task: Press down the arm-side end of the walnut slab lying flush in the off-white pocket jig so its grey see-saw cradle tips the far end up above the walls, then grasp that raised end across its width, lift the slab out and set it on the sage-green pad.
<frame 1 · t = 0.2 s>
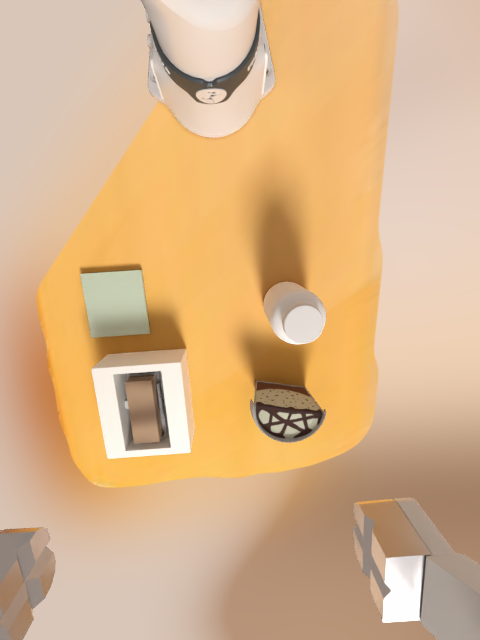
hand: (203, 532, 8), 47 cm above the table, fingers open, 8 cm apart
pill bottle: (285, 303, 56), on the table
walnut slab: (146, 404, 54), point 4 cm above the table, touching cradle
sage pad: (117, 303, 55), on the table
pocket jig: (152, 392, 58), on the table
cradle: (146, 404, 54), point 4 cm above the table, hinge at 0.0°, touching walnut slab
food container: (277, 398, 60), on the table
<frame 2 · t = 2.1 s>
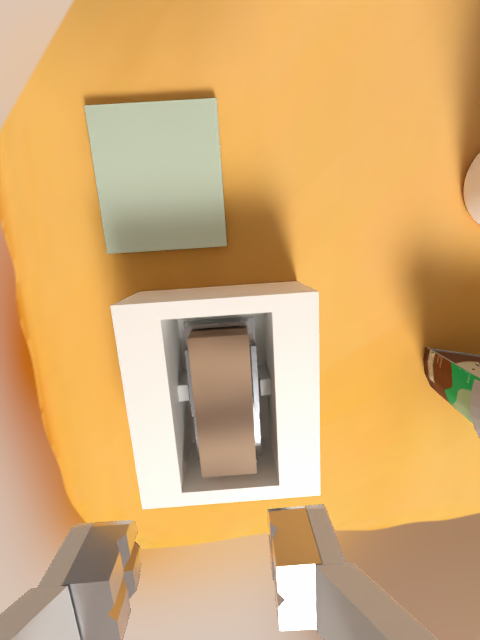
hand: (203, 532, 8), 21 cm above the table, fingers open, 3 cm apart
walnut slab: (224, 392, 26), point 4 cm above the table, touching cradle
sage pad: (161, 181, 26), on the table
pocket jig: (225, 371, 30), on the table
cradle: (224, 392, 26), point 4 cm above the table, hinge at 0.0°, touching walnut slab
food container: (461, 382, 31), on the table
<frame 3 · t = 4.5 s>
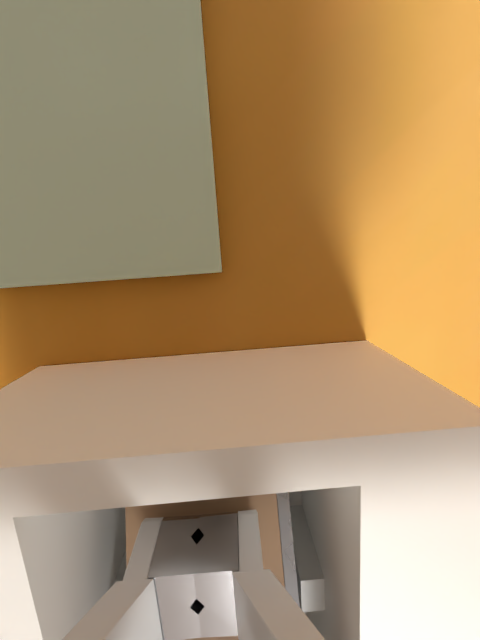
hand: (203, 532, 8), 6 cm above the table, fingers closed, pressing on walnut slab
walnut slab: (217, 609, 11), point 4 cm above the table, tilted 21°, touching cradle, gripper
sage pad: (74, 130, 12), on the table
pocket jig: (220, 515, 15), on the table
cradle: (217, 608, 11), point 4 cm above the table, hinge at -21.0°, touching walnut slab
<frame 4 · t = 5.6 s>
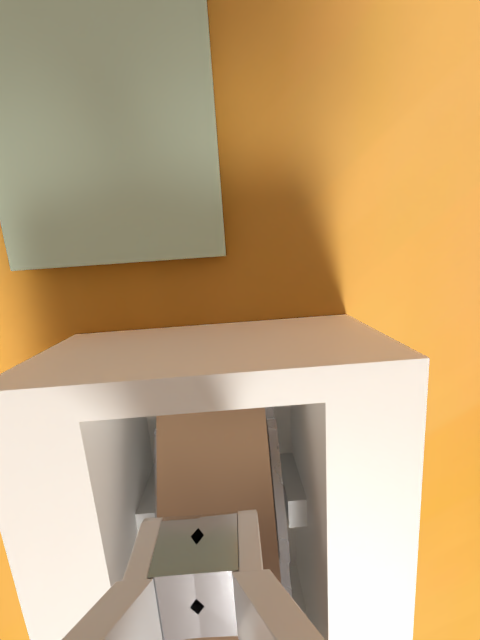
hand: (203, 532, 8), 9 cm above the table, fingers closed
walnut slab: (222, 518, 14), point 4 cm above the table, tilted 27°, touching cradle
sage pad: (107, 140, 14), on the table
pocket jig: (224, 462, 18), on the table
cradle: (222, 518, 14), point 4 cm above the table, hinge at -27.2°, touching walnut slab
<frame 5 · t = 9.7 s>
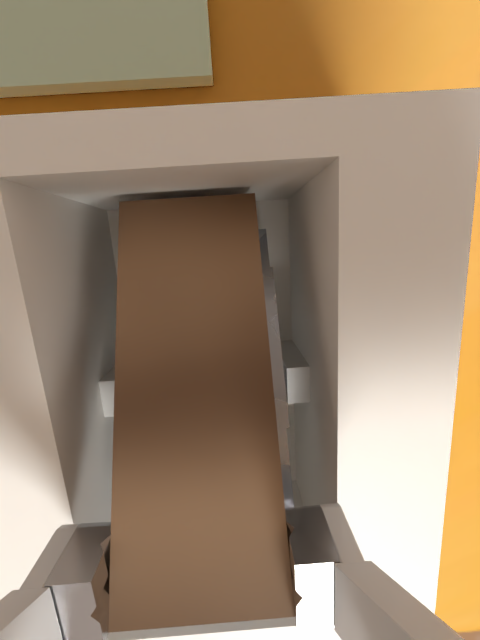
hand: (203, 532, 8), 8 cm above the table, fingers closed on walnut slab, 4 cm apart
walnut slab: (204, 382, 11), point 4 cm above the table, tilted 27°, touching cradle, gripper
pocket jig: (212, 355, 15), on the table
cradle: (205, 386, 11), point 4 cm above the table, hinge at -27.2°, touching walnut slab
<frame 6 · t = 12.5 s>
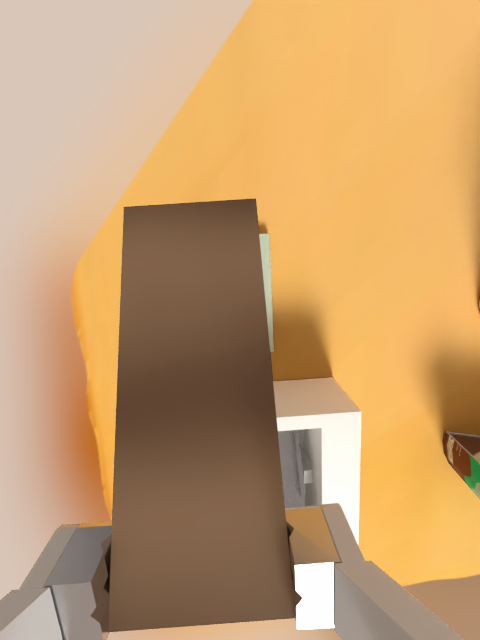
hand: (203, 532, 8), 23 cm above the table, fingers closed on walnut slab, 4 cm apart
walnut slab: (206, 384, 11), point 19 cm above the table, tilted 28°, touching gripper
sage pad: (217, 297, 30), on the table
pocket jig: (267, 453, 34), on the table
cradle: (273, 478, 29), point 4 cm above the table, hinge at -27.2°
food container: (475, 460, 35), on the table
when the fingers open (9 cm above the table, at t = 15.6 s): walnut slab drops 4 cm, resting on sage pad.
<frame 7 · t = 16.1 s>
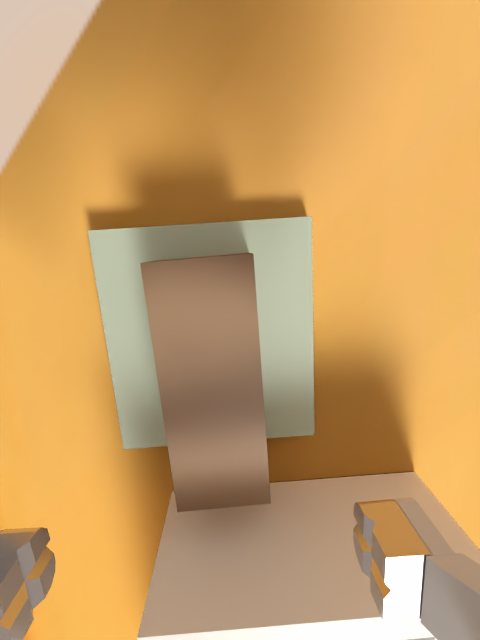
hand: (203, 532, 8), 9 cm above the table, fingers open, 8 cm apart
walnut slab: (214, 369, 16), point 1 cm above the table, touching sage pad
sage pad: (211, 337, 16), on the table
pocket jig: (297, 591, 20), on the table
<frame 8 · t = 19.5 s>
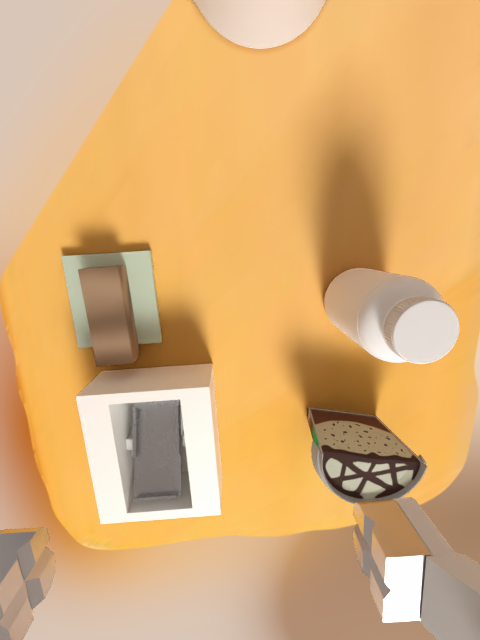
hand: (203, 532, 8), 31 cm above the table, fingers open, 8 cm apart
pill bottle: (353, 299, 39), on the table
walnut slab: (115, 312, 38), point 1 cm above the table, touching sage pad
sage pad: (115, 299, 38), on the table
pocket jig: (165, 424, 42), on the table
cradle: (157, 441, 38), point 4 cm above the table, hinge at -27.2°
food container: (336, 430, 43), on the table
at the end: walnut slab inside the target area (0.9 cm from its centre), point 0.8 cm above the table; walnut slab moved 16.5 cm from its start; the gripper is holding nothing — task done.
